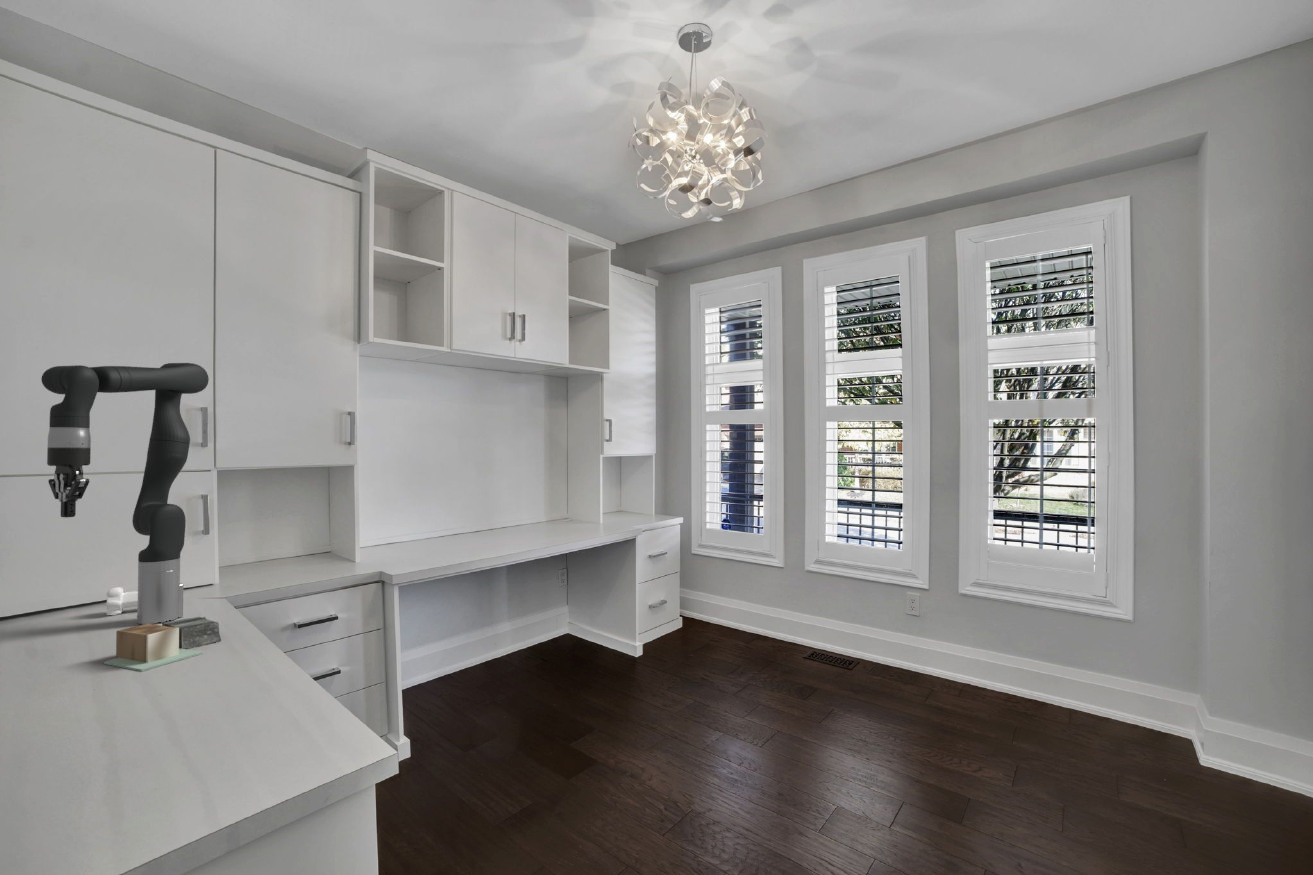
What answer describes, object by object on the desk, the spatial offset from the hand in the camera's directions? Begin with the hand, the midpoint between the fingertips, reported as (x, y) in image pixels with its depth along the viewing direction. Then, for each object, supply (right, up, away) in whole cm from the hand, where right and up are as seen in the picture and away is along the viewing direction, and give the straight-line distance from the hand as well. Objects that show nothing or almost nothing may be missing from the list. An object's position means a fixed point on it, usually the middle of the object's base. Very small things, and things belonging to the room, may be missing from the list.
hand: (67, 517), depth 144 cm
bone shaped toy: (-13, -34, +36) cm, 51 cm away
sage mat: (+29, -31, -9) cm, 44 cm away
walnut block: (+21, -28, -6) cm, 36 cm away
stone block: (+27, -32, +4) cm, 43 cm away
